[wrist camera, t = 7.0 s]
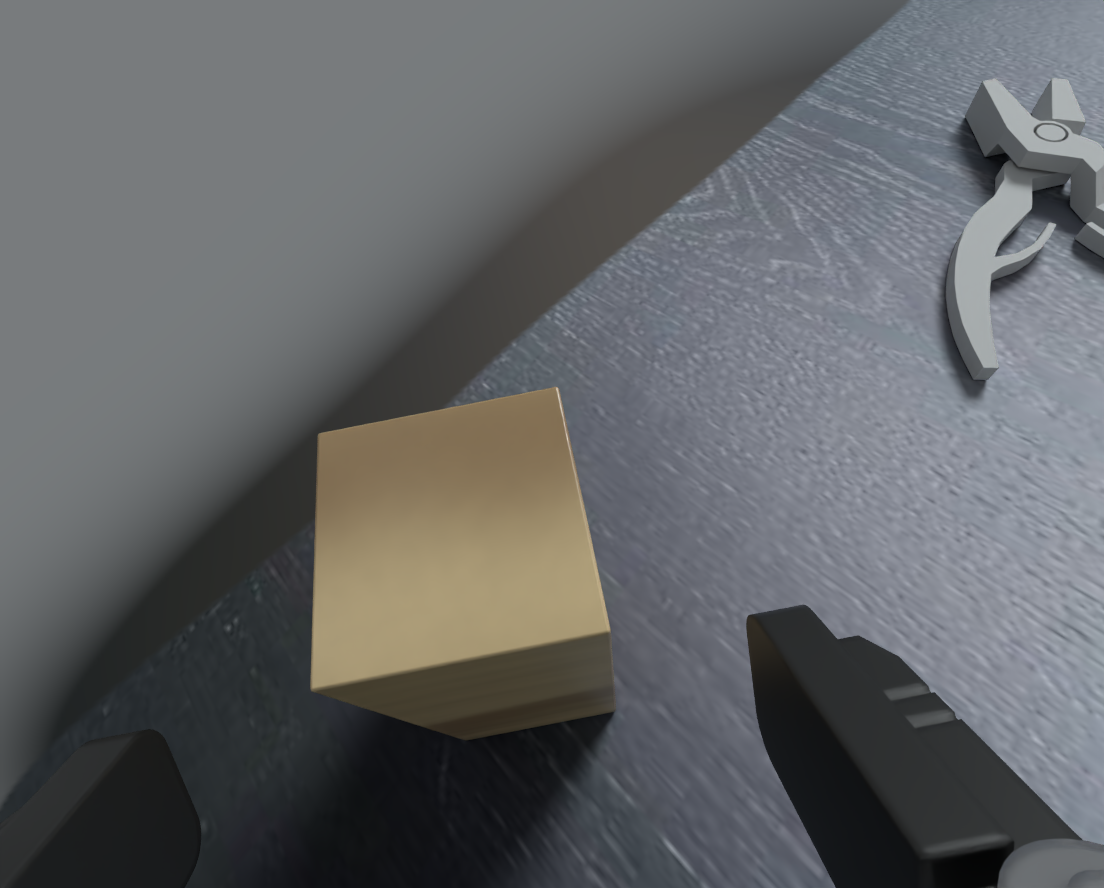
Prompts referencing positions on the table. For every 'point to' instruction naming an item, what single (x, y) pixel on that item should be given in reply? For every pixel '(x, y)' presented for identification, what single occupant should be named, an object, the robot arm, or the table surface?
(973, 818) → the robot arm
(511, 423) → the block
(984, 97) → the pliers
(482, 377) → the table surface
